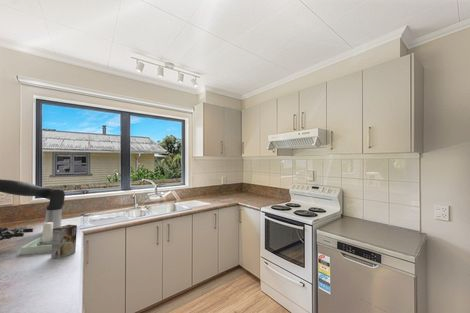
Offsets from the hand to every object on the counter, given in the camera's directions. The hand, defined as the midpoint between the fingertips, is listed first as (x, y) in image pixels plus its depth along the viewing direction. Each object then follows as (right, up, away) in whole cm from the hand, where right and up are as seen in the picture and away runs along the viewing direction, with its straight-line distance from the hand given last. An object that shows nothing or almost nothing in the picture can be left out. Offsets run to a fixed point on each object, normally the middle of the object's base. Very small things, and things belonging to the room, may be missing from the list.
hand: (28, 232), depth 123 cm
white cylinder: (+9, -9, +2) cm, 13 cm away
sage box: (+9, -10, +2) cm, 14 cm away
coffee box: (+28, -11, -7) cm, 31 cm away
